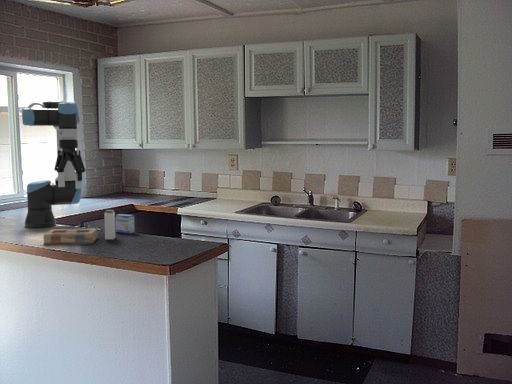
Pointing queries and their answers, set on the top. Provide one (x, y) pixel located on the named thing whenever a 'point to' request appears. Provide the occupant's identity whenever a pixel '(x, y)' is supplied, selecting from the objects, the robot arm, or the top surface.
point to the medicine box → (125, 223)
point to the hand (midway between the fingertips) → (70, 187)
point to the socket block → (70, 236)
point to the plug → (109, 224)
